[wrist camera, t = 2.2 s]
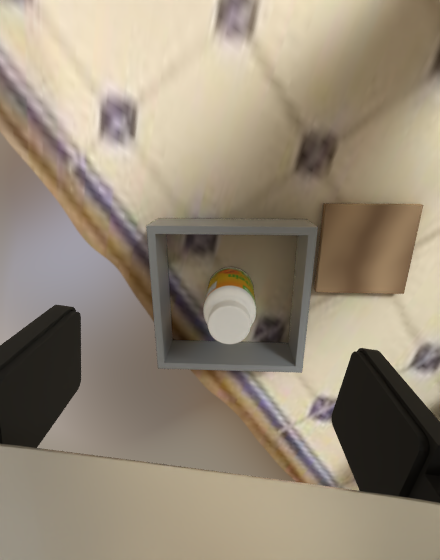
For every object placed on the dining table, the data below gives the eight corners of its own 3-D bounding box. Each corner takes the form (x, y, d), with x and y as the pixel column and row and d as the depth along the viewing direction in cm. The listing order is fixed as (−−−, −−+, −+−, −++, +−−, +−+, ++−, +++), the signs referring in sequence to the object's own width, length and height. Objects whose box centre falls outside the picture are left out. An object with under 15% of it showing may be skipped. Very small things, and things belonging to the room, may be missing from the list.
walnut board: (417, 204, 33) (423, 205, 32) (399, 290, 36) (403, 293, 35) (323, 203, 33) (326, 204, 32) (314, 289, 37) (316, 292, 36)
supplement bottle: (261, 280, 37) (270, 317, 28) (237, 315, 38) (238, 360, 29) (223, 257, 36) (219, 288, 27) (200, 293, 38) (189, 333, 29)
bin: (306, 219, 34) (317, 227, 29) (294, 348, 40) (302, 372, 35) (158, 218, 35) (146, 225, 30) (166, 345, 40) (157, 368, 36)
